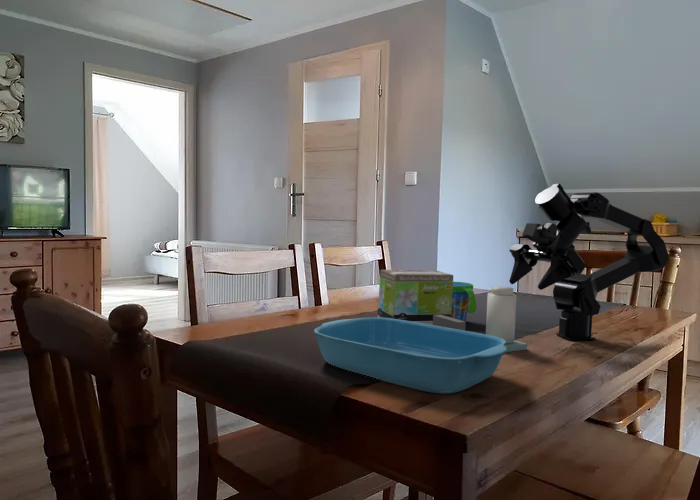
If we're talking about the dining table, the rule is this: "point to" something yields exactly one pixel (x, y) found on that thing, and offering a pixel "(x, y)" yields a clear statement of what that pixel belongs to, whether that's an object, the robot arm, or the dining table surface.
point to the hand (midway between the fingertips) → (524, 285)
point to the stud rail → (516, 346)
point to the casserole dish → (411, 352)
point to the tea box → (415, 295)
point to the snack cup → (462, 300)
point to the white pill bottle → (501, 313)
